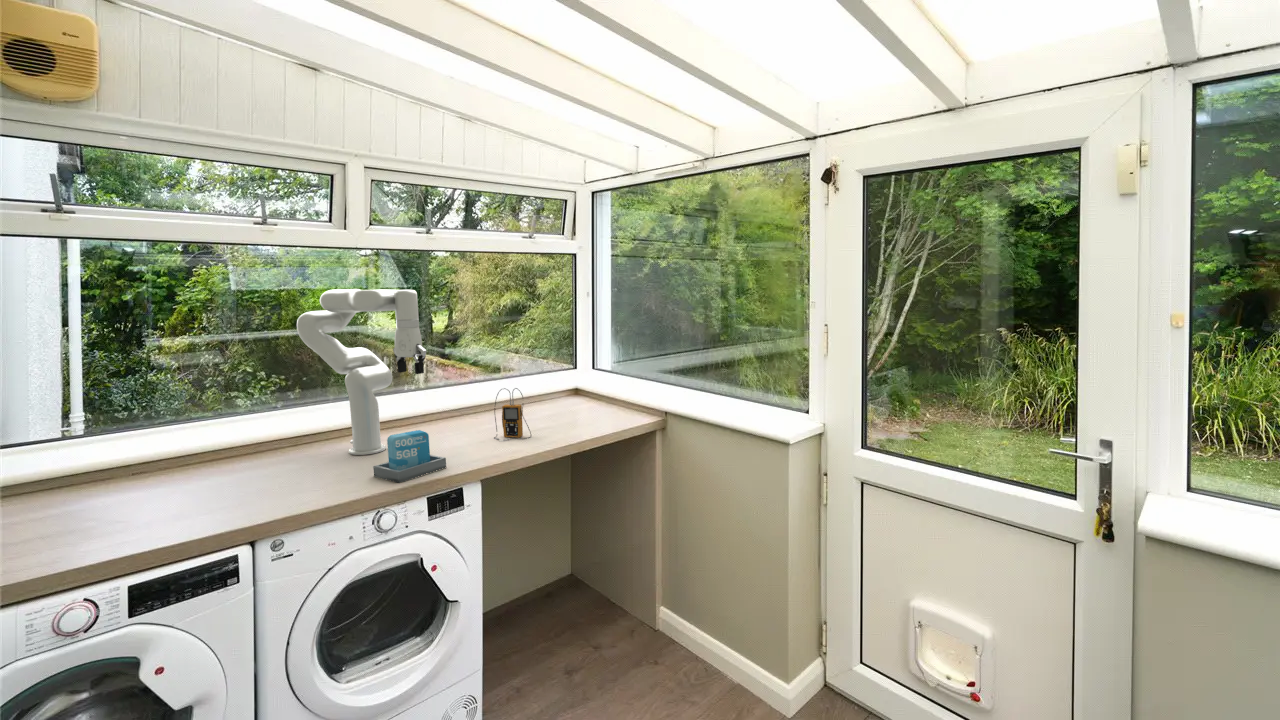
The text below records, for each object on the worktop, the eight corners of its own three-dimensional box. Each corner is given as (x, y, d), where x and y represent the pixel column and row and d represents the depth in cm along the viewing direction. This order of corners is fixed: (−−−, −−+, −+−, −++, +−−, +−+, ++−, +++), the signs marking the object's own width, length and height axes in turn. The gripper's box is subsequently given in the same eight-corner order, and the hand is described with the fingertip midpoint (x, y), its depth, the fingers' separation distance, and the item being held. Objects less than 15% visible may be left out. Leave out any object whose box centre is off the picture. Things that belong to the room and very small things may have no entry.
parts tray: (374, 476, 191) (373, 466, 190) (421, 462, 206) (420, 452, 205) (399, 483, 184) (398, 472, 183) (446, 467, 199) (445, 457, 198)
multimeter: (487, 442, 233) (485, 391, 230) (497, 435, 242) (495, 387, 240) (523, 442, 230) (521, 392, 228) (532, 436, 240) (530, 387, 238)
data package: (394, 474, 189) (392, 437, 188) (389, 471, 192) (386, 435, 191) (430, 466, 197) (428, 431, 196) (425, 463, 200) (422, 429, 199)
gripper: (383, 325, 211) (386, 372, 213) (414, 325, 202) (417, 375, 204) (401, 323, 217) (404, 370, 219) (432, 324, 208) (435, 372, 210)
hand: (410, 372), depth 211 cm, fingers open, 9 cm apart
